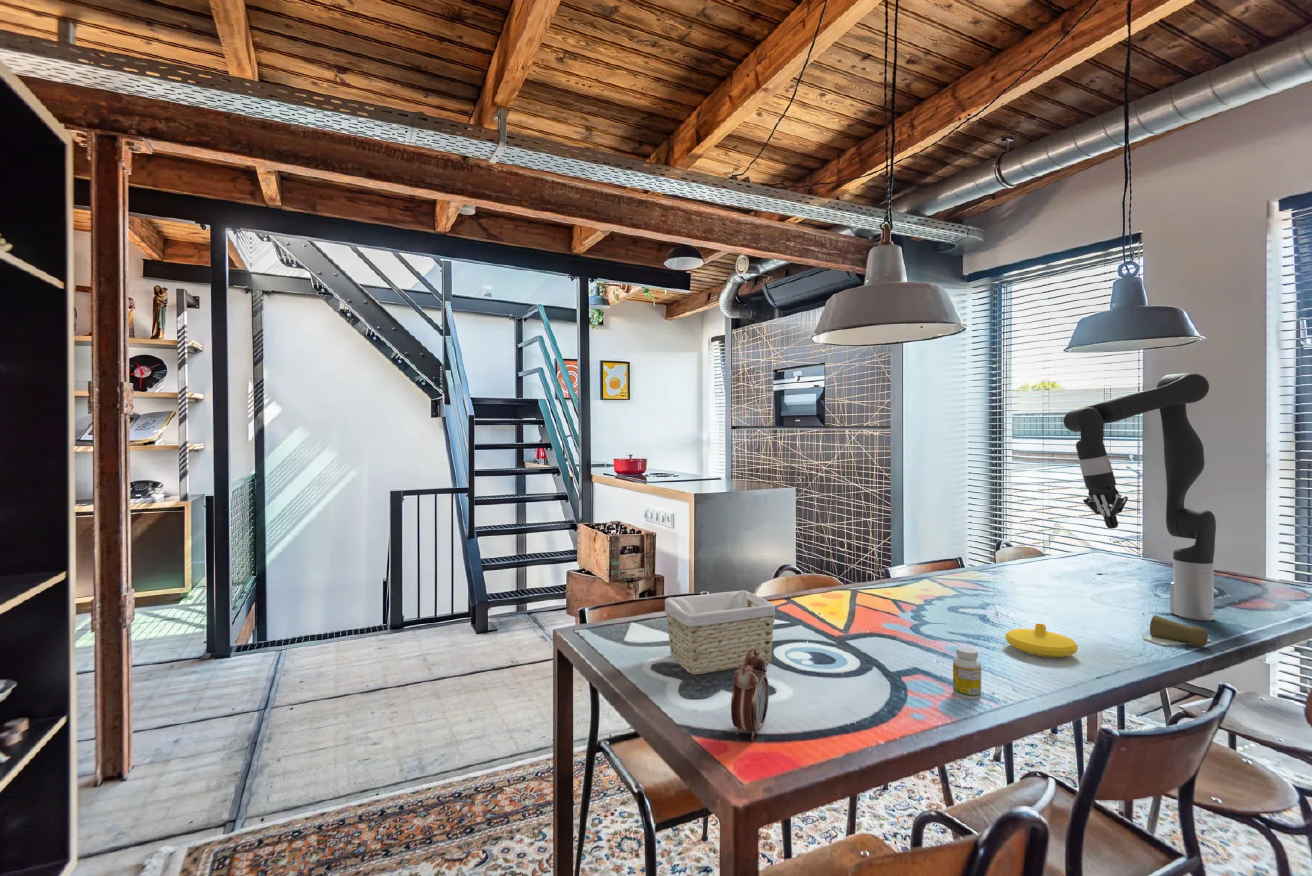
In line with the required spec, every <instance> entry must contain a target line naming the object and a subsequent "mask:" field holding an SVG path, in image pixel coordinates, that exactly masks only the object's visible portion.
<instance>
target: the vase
mask: <svg viewBox="0 0 1312 876" xmlns="http://www.w3.org/2000/svg"><path fill="white" fill-rule="evenodd" d="M1046 626H1047V625H1046V624H1043V623H1035V627H1034V629H1033V628H1016V629H1015V628H1014V629H1011V630H1009V631H1007V632H1006V633H1005V635H1004V636H1005V640H1006V642H1007V643H1008V644H1009V645H1011V646H1012V647H1014V648H1015V649H1016V650H1019V651H1021V652H1024V653H1026V654H1029V655H1033V656H1038V657H1044V658H1063V657H1064V658H1065V657H1068V656H1072V655H1075V654H1076V653H1077V651H1078V649H1079V645H1078V644H1077V643H1076V641H1074V640H1073V639H1071V638H1070V637H1068V636H1065V635H1063V634H1061V633H1060V634H1059V633H1056V632H1051V631H1048V630H1047V627H1046Z"/></svg>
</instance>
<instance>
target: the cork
mask: <svg viewBox="0 0 1312 876" xmlns="http://www.w3.org/2000/svg"><path fill="white" fill-rule="evenodd" d="M1149 633H1150V637H1158V638H1164V639H1169V640H1175V641H1181V642H1188V643H1190V644H1189V645H1191V646H1193V647H1195V648H1196V647H1197V648H1204V647H1206V646H1207V640H1208V639H1209V635H1208V632H1207V630H1206V629H1205V628H1203V627H1200V626H1188V625H1185V624H1182V623H1179V622H1176V621H1174V620H1171V619H1168V618H1165V617H1161V616H1159V615H1156V614H1155V615H1153V616H1152V618H1151V621H1150V624H1149Z"/></svg>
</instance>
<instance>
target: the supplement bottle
mask: <svg viewBox="0 0 1312 876" xmlns="http://www.w3.org/2000/svg"><path fill="white" fill-rule="evenodd" d="M978 653H979V652H978V650H977V649H975V648H973V647H967V646H957V647H956V656H955V657H954V658H953V660H952V691H953V692H952V693H954V695H956V696H957V697H959V698H962V699H964V700H971V701H972V700H973V701H974V700H975V701H976V700H979V699H980V698H981V697H982V664H981V662H980V660H978V657H979V655H978Z"/></svg>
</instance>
